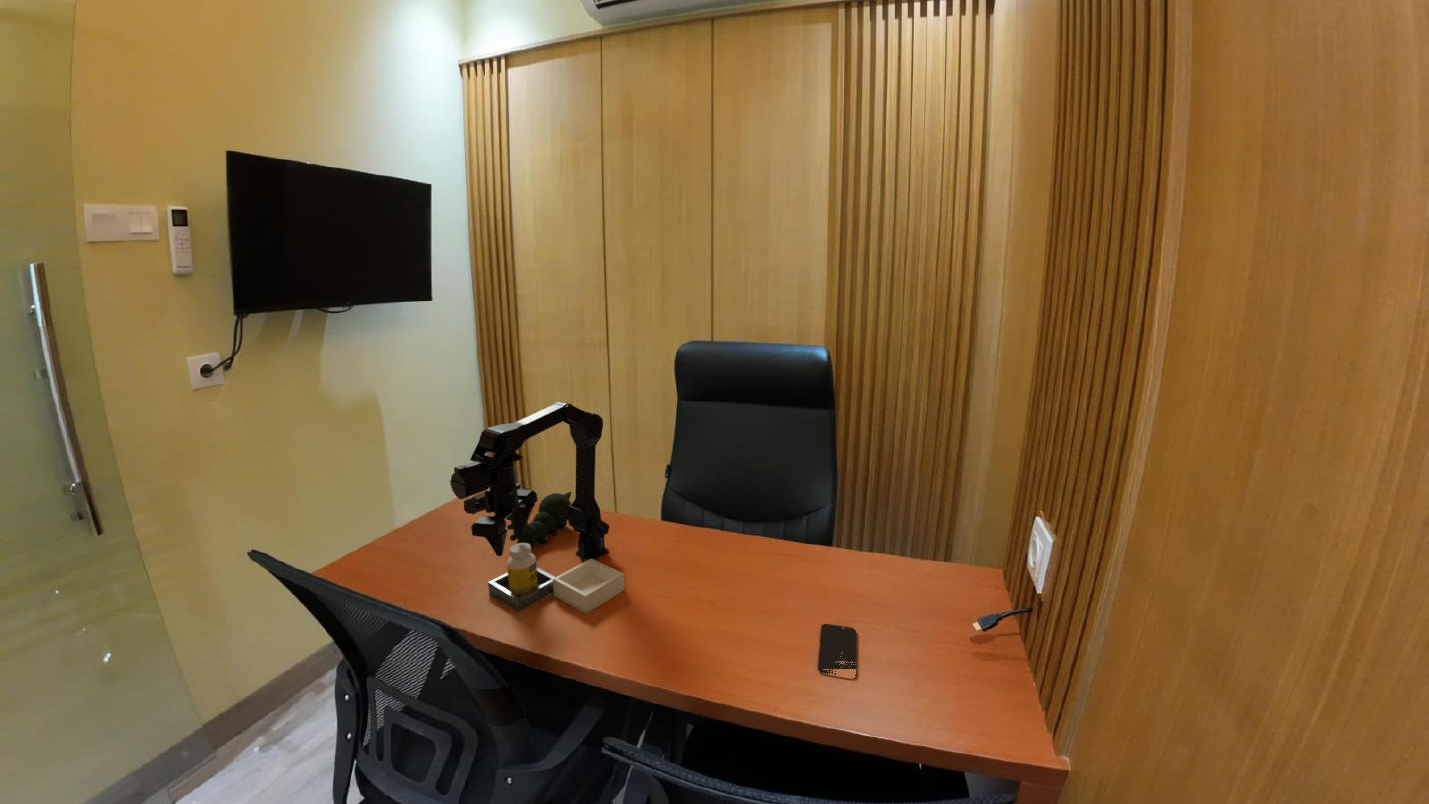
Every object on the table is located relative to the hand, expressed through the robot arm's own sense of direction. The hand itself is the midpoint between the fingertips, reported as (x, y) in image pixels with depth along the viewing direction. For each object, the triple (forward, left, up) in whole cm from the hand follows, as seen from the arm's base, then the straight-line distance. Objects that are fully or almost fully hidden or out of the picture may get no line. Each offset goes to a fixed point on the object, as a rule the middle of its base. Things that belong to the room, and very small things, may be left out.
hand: (510, 545), depth 124 cm
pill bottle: (-2, 0, -13) cm, 13 cm away
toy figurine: (-22, -19, -13) cm, 32 cm away
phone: (-28, +69, -14) cm, 76 cm away
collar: (-2, 0, -13) cm, 13 cm away
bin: (-11, +13, -13) cm, 22 cm away
